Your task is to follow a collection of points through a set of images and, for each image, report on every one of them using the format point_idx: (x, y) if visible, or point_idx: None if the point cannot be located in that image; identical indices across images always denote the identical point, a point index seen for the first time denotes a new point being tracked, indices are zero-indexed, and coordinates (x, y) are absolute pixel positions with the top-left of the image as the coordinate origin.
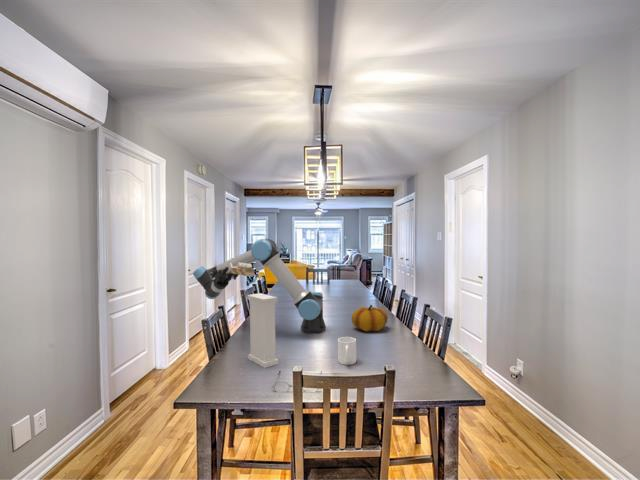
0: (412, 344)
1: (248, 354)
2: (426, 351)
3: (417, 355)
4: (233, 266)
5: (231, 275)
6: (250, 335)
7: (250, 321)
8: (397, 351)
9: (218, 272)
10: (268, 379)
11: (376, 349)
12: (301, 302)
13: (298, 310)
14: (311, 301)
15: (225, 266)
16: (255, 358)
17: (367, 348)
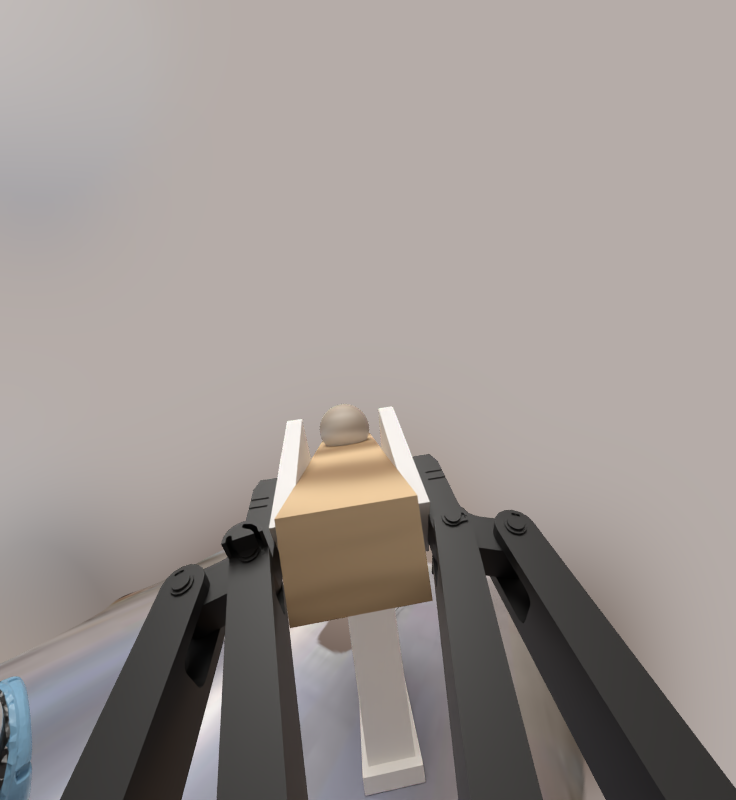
0: (49, 648)
1: (422, 762)
2: (105, 611)
3: (139, 605)
4: (319, 483)
5: (301, 747)
6: (404, 678)
7: (396, 622)
8: (123, 630)
9: (564, 580)
10: (415, 617)
11: (120, 657)
12: (17, 717)
13: (6, 797)
14: (19, 678)
15: (416, 494)
16: (410, 706)
17: (117, 672)
